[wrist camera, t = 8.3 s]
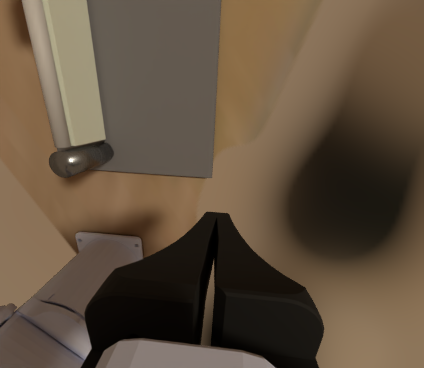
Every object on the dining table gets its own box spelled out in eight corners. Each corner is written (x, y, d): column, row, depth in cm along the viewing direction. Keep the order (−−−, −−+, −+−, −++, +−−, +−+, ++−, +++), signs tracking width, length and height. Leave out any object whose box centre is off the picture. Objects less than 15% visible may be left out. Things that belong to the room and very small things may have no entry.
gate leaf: (105, 139, 19) (65, 148, 14) (93, 138, 19) (50, 147, 14) (83, -22, 15) (17, -83, 10) (68, -22, 15) (-5, -83, 10)
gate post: (116, 161, 21) (77, 178, 15) (98, 159, 21) (52, 176, 15) (114, 141, 20) (72, 152, 15) (95, 140, 20) (46, 151, 15)
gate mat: (212, 176, 20) (211, 178, 20) (64, 166, 21) (61, 167, 21) (224, -62, 14) (224, -67, 14) (14, -62, 15) (9, -67, 15)
